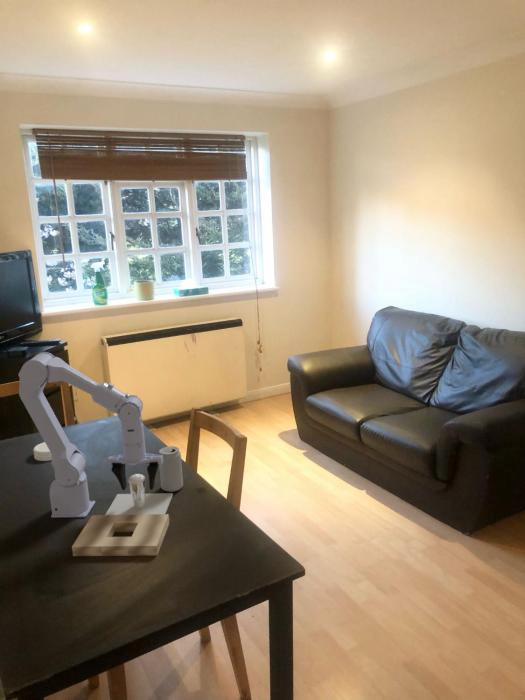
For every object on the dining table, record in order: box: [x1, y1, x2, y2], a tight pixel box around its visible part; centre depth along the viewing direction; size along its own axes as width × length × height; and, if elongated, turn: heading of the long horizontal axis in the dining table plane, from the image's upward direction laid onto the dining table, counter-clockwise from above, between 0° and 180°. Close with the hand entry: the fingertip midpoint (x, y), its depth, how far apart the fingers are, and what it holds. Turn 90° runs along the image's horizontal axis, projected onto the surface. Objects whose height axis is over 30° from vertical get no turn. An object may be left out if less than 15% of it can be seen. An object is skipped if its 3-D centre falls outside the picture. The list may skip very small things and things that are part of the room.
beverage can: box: [158, 445, 184, 493], centre depth 158 cm, size 6×6×12 cm
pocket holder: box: [71, 513, 170, 557], centre depth 135 cm, size 20×14×2 cm
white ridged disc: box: [32, 441, 52, 462], centre depth 186 cm, size 10×10×4 cm
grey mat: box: [104, 492, 174, 515], centre depth 150 cm, size 16×12×1 cm
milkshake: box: [127, 473, 147, 509], centre depth 148 cm, size 4×5×10 cm
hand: (138, 488), depth 149 cm, fingers open, 7 cm apart
